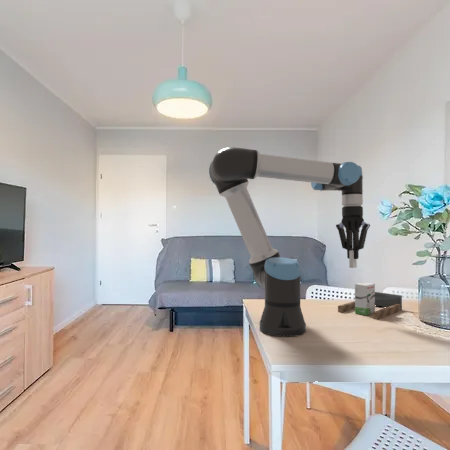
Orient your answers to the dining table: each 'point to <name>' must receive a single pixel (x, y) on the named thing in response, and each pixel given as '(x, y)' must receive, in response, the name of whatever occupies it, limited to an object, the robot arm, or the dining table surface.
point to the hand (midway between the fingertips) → (353, 267)
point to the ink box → (364, 298)
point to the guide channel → (379, 304)
